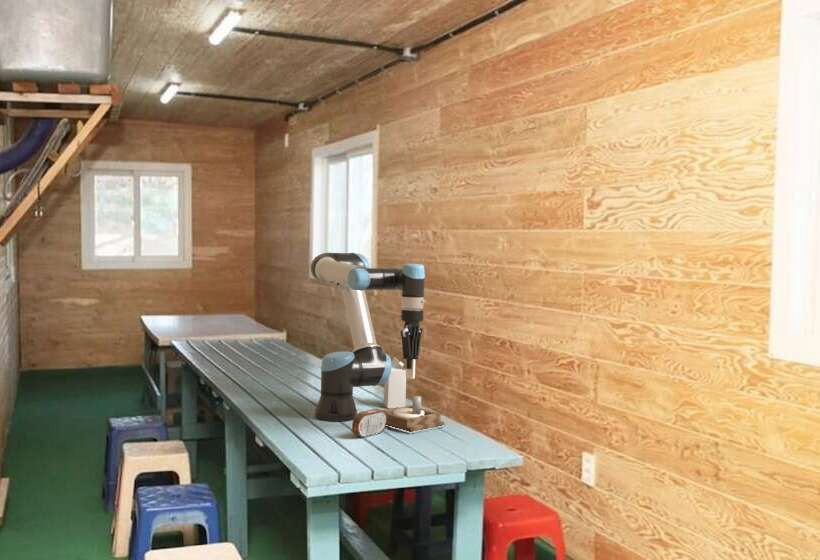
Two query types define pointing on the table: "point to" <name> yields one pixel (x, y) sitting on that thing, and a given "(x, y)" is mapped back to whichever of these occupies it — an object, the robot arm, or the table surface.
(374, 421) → the tin
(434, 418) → the wooden tray
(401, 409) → the dial
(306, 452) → the table surface
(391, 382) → the milk carton
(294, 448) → the table surface
